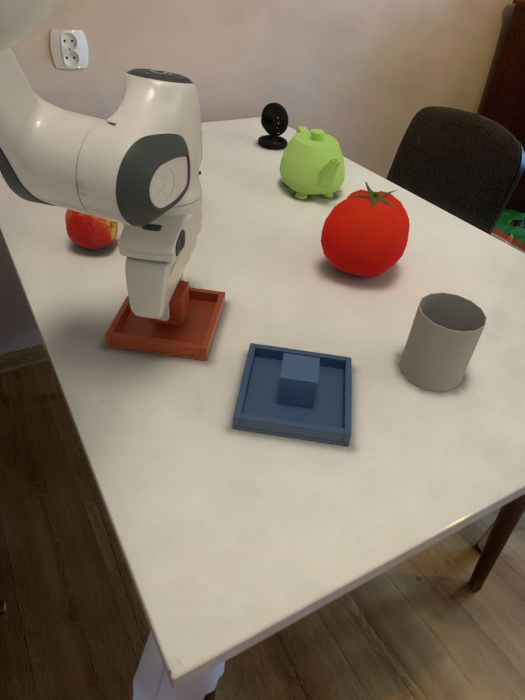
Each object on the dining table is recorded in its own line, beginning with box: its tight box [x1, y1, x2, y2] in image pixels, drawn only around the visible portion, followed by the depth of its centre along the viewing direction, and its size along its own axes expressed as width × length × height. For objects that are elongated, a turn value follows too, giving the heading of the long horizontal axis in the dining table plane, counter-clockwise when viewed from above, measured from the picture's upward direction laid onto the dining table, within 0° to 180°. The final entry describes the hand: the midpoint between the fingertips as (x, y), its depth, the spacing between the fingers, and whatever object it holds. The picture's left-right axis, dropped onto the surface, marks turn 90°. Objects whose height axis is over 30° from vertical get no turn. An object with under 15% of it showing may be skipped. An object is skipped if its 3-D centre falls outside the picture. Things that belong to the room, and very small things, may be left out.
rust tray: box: [104, 286, 226, 362], centre depth 76 cm, size 14×14×2 cm
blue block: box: [276, 353, 320, 409], centre depth 66 cm, size 4×4×4 cm
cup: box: [399, 292, 487, 393], centre depth 71 cm, size 8×8×10 cm
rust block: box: [150, 280, 190, 326], centre depth 75 cm, size 4×4×4 cm
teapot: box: [279, 125, 346, 200], centre depth 113 cm, size 20×13×13 cm
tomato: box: [320, 180, 411, 278], centre depth 88 cm, size 16×14×14 cm
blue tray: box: [232, 342, 353, 447], centre depth 67 cm, size 14×14×2 cm
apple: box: [64, 209, 119, 250], centre depth 89 cm, size 8×8×8 cm
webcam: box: [257, 102, 289, 150], centre depth 133 cm, size 8×8×10 cm
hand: (169, 305), depth 75 cm, fingers closed on rust block, 4 cm apart
